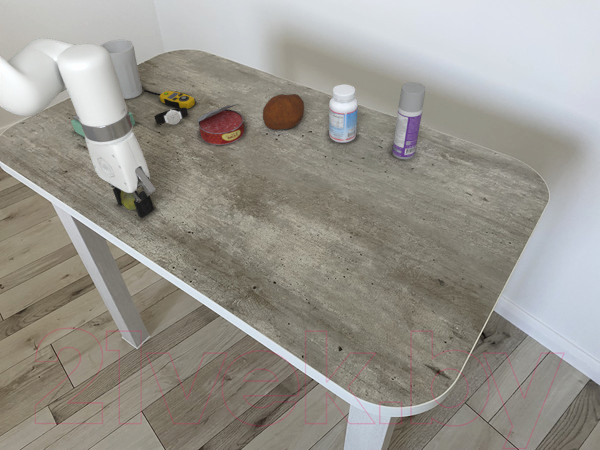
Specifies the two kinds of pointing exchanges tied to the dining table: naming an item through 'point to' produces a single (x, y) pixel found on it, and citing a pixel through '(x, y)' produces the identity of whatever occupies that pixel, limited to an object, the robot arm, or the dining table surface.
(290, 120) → the potato
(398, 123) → the container
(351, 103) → the pill bottle
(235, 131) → the canned food
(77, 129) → the scale
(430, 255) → the dining table surface
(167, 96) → the yellow walkie talkie
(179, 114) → the watch
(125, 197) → the lime
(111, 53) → the cup
